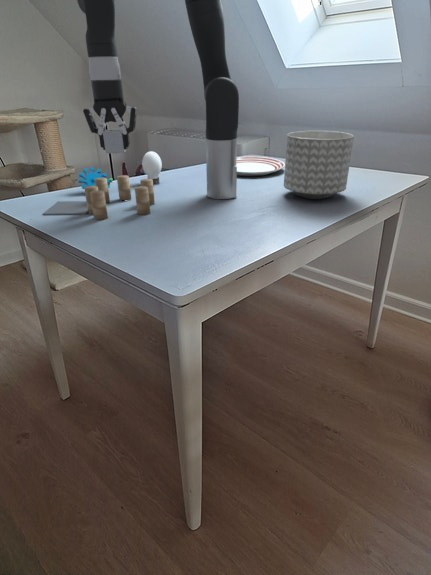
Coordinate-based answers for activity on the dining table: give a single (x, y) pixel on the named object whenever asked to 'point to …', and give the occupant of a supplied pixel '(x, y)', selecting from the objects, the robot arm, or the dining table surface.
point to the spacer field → (100, 196)
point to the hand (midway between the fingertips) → (115, 148)
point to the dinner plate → (257, 166)
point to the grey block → (113, 141)
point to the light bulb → (152, 166)
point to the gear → (92, 177)
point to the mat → (68, 208)
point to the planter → (317, 163)
